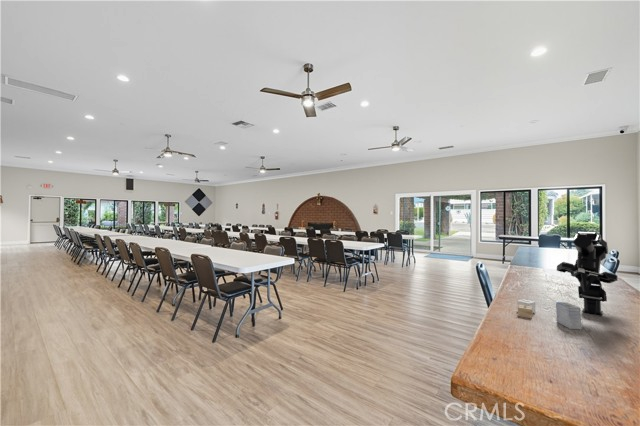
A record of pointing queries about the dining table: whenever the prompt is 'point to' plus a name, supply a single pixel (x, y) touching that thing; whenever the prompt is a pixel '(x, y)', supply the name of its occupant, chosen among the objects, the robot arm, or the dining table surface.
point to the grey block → (527, 304)
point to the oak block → (525, 311)
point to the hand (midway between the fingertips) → (584, 291)
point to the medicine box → (568, 315)
